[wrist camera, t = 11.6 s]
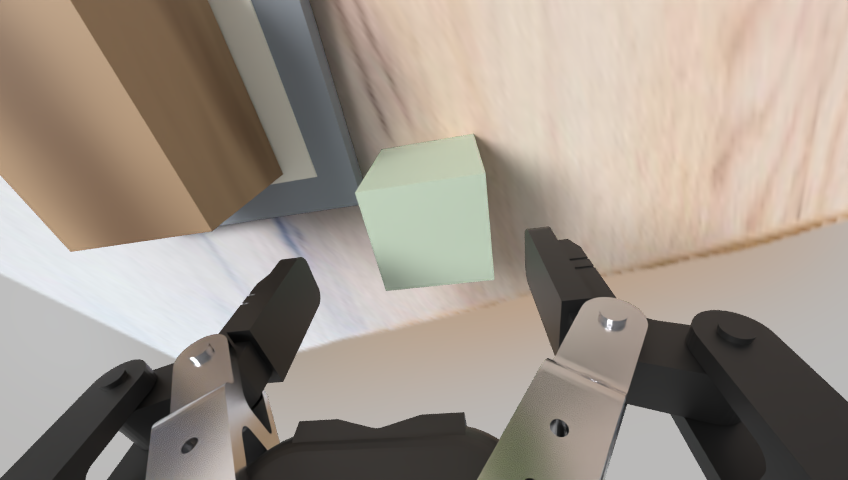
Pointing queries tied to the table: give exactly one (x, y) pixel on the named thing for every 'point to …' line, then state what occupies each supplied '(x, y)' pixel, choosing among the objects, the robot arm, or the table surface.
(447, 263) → the sage block
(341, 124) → the board
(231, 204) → the walnut block
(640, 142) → the table surface
